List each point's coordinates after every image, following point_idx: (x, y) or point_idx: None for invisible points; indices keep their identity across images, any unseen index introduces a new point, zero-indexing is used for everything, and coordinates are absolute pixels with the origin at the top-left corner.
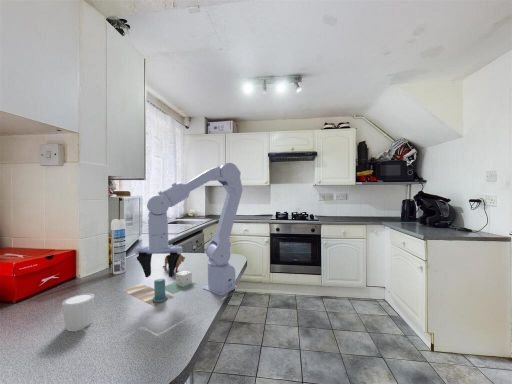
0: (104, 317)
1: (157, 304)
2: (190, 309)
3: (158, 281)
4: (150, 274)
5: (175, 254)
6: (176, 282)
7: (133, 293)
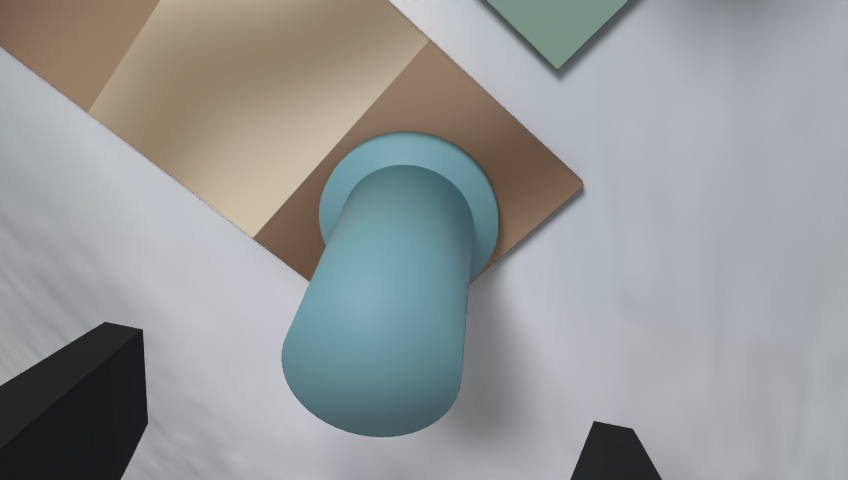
0: None
1: None
2: (774, 444)
3: (364, 403)
4: (135, 348)
5: None
6: None
7: None
